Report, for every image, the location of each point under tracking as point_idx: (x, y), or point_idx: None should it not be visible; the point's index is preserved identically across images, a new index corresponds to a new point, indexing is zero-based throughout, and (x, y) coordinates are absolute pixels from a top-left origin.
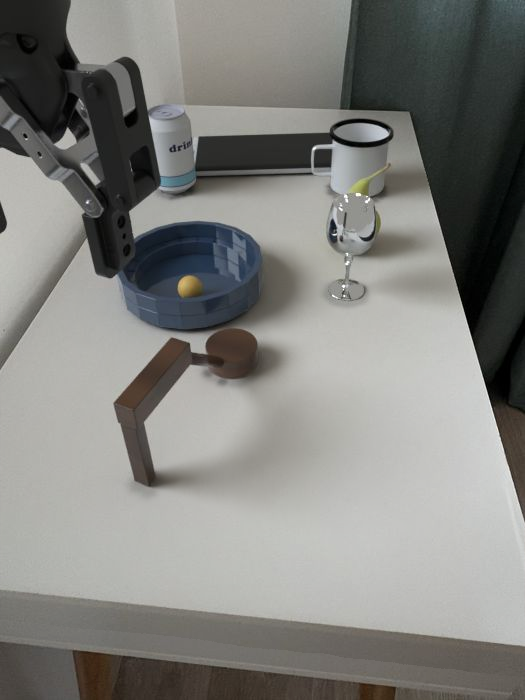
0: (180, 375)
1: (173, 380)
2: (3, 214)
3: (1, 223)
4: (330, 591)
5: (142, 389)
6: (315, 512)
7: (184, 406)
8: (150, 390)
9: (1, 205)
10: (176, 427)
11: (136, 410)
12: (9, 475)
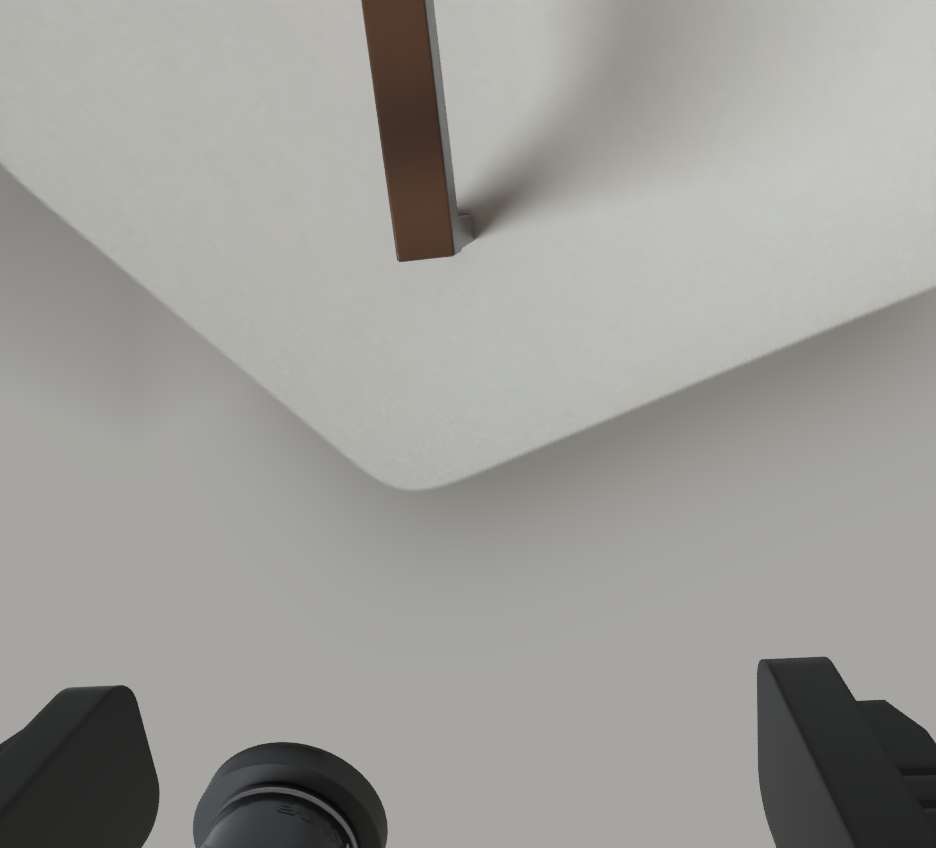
0: (437, 45)
1: (440, 79)
2: (91, 722)
3: (114, 720)
4: (889, 250)
5: (427, 187)
6: (803, 112)
7: None
8: (445, 177)
9: (62, 748)
10: None
11: (455, 244)
12: (235, 354)
